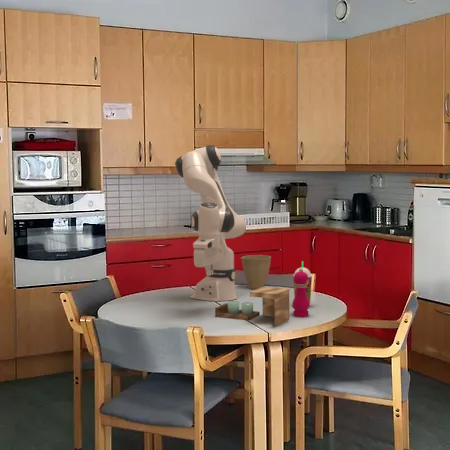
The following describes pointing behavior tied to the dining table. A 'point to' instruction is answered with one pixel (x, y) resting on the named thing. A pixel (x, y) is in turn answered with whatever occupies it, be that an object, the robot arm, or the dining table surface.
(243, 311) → the pale green rounded cylinder
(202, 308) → the dining table surface
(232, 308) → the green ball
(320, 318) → the dining table surface
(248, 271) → the plant pot
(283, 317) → the counter cubby
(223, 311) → the tray
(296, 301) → the pepper mill
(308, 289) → the smoothie
